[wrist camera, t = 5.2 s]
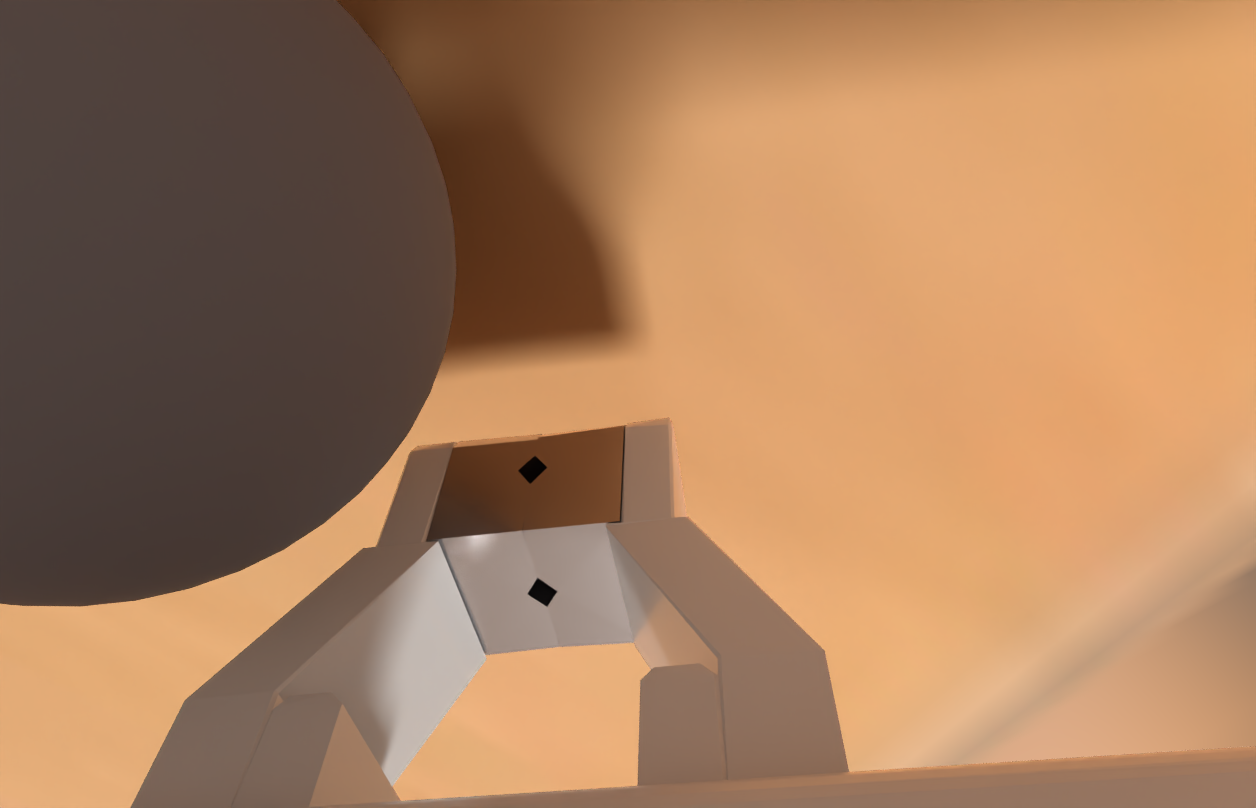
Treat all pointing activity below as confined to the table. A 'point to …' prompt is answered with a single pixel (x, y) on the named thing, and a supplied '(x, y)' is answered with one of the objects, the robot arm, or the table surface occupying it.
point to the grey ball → (203, 286)
